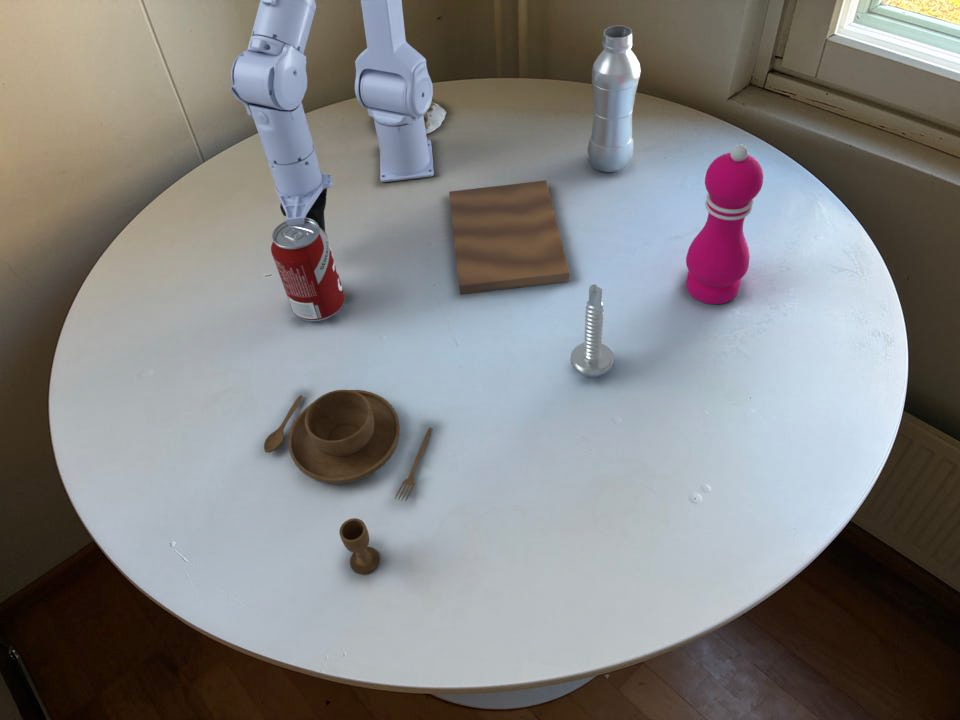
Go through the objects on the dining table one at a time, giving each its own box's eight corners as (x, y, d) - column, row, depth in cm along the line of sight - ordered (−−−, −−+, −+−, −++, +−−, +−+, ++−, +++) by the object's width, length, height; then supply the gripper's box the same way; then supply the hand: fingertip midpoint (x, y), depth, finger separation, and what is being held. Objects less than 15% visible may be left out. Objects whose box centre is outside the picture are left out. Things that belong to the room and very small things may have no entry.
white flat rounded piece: (450, 133, 122) (448, 111, 119) (376, 143, 122) (371, 122, 119) (443, 97, 130) (440, 75, 127) (373, 107, 129) (369, 85, 126)
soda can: (319, 332, 94) (294, 258, 85) (282, 312, 97) (254, 238, 88) (356, 300, 98) (336, 225, 89) (319, 281, 101) (296, 207, 92)
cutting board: (450, 200, 110) (448, 191, 109) (546, 188, 110) (546, 180, 109) (459, 294, 97) (458, 285, 96) (569, 281, 97) (569, 272, 96)
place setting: (442, 413, 84) (436, 379, 80) (378, 578, 72) (367, 548, 67) (298, 388, 88) (285, 353, 84) (214, 540, 76) (193, 509, 72)
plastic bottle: (578, 161, 114) (582, 29, 99) (617, 147, 116) (626, 15, 101) (601, 183, 110) (608, 48, 95) (641, 168, 112) (654, 34, 97)
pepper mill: (743, 310, 91) (778, 167, 76) (680, 305, 93) (704, 163, 78) (741, 270, 96) (775, 128, 81) (682, 265, 97) (705, 125, 82)
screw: (570, 353, 89) (613, 354, 88) (569, 385, 86) (613, 387, 85) (572, 269, 79) (619, 270, 79) (571, 301, 76) (620, 302, 75)
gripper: (319, 183, 86) (344, 273, 96) (327, 115, 96) (349, 203, 106) (257, 190, 86) (289, 279, 96) (271, 121, 96) (298, 209, 106)
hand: (317, 240), depth 101 cm, fingers closed
